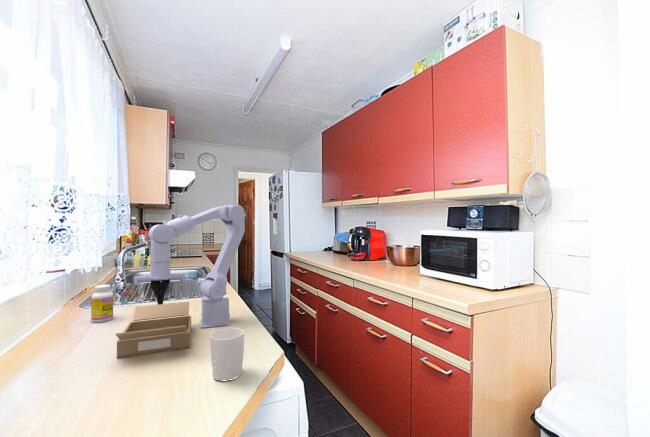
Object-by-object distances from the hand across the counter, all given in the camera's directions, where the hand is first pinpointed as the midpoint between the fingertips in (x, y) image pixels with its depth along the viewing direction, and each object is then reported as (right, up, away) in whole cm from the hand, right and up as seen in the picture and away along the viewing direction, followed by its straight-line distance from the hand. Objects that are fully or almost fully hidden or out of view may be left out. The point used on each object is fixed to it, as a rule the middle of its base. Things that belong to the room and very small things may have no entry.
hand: (160, 303), depth 98 cm
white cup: (+30, -11, -25) cm, 40 cm away
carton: (+2, -10, -5) cm, 12 cm away
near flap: (+6, -4, -15) cm, 16 cm away
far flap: (-2, -4, +5) cm, 7 cm away
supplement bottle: (-30, -11, +16) cm, 36 cm away
